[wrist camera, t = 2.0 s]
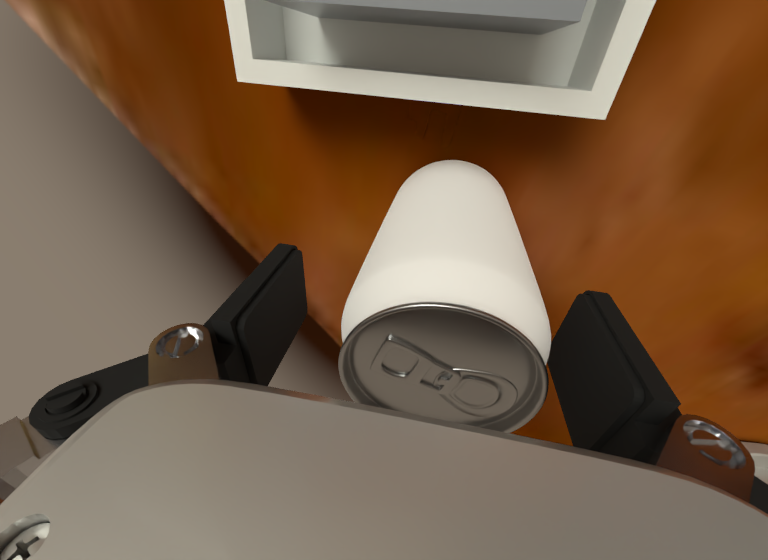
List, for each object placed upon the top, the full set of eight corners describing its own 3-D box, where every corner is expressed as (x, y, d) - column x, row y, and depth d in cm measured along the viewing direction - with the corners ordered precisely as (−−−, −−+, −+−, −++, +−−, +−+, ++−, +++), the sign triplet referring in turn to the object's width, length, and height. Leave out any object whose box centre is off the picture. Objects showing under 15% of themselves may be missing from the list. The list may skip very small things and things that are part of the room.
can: (469, 278, 21) (478, 473, 11) (377, 237, 20) (301, 400, 10) (532, 188, 17) (635, 363, 7) (421, 136, 16) (367, 243, 7)
